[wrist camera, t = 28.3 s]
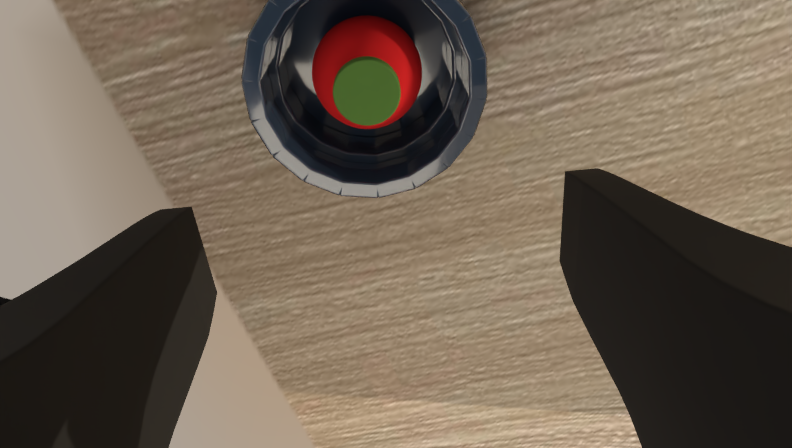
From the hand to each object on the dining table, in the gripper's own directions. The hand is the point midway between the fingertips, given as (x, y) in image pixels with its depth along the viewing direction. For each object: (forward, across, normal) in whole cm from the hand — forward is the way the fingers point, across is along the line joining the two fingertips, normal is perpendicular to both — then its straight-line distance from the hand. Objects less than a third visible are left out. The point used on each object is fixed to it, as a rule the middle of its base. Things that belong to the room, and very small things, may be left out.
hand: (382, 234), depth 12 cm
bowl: (+9, 0, -1) cm, 9 cm away
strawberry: (+9, 0, -1) cm, 9 cm away
